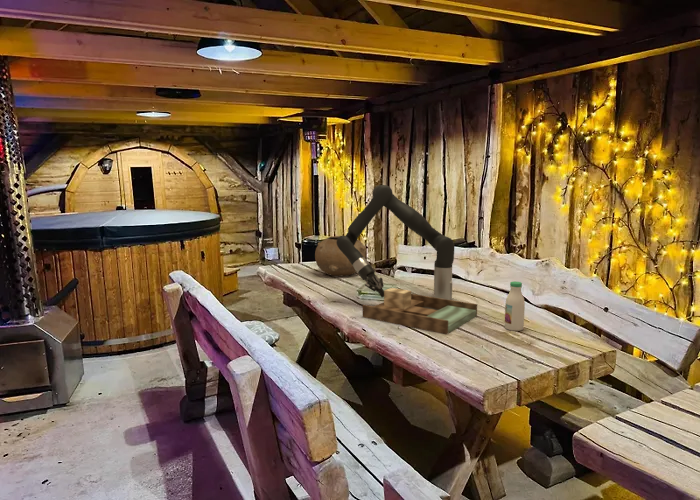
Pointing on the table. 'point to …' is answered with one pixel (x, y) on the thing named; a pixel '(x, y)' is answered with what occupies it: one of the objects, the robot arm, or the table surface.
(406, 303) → the maple block
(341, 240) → the robot arm
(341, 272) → the ceramic pot
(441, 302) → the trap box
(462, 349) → the table surface
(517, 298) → the milk bottle
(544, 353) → the table surface
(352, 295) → the table surface
